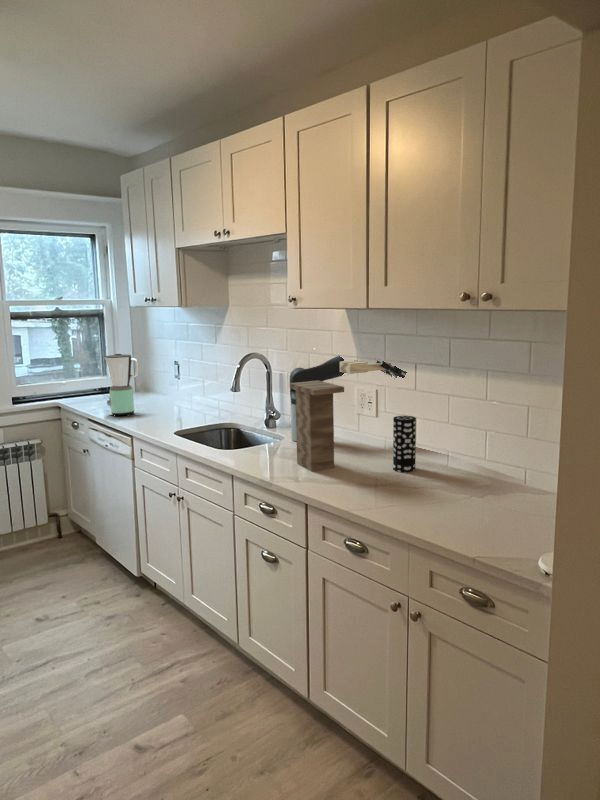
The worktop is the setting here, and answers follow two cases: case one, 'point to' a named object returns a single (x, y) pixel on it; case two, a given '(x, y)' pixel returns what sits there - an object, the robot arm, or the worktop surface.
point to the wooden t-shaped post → (315, 423)
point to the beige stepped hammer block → (359, 367)
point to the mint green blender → (121, 383)
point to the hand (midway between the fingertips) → (378, 363)
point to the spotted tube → (404, 443)
